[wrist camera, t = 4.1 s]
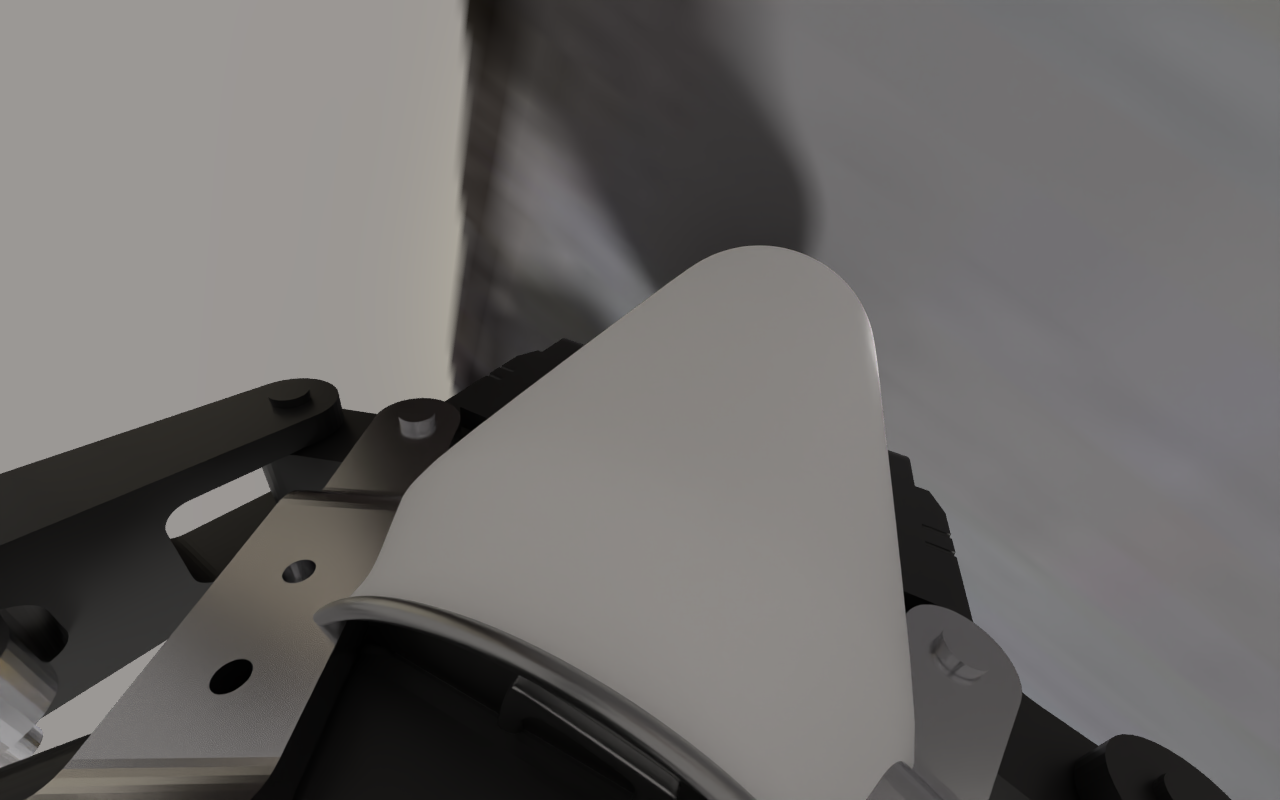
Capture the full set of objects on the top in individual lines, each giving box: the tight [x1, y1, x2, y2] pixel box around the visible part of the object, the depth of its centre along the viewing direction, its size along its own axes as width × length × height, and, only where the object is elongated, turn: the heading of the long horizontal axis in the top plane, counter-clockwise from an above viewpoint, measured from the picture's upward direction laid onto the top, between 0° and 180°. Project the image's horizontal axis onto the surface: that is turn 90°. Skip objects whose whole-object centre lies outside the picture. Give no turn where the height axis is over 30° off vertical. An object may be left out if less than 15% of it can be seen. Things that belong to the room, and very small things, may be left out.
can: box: [313, 245, 915, 800], centre depth 9 cm, size 6×6×12 cm
